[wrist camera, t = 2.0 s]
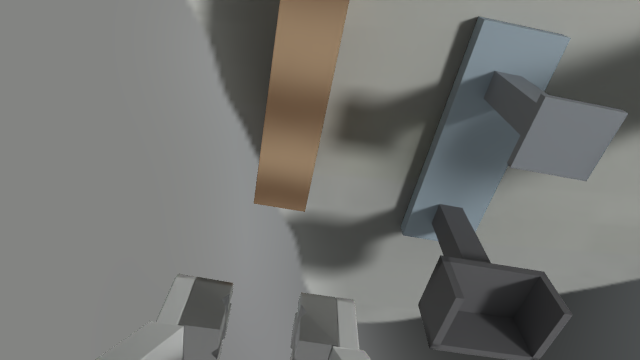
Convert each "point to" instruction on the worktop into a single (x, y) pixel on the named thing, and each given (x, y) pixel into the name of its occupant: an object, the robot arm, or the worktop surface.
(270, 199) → the rail
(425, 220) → the stand
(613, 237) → the worktop surface
